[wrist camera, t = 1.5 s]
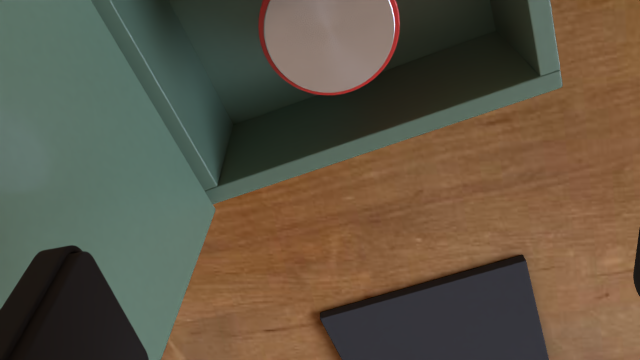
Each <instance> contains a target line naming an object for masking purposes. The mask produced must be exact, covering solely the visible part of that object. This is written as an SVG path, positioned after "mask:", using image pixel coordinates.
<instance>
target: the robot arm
mask: <svg viewBox="0 0 640 360" xmlns="http://www.w3.org/2000/svg"><path fill="white" fill-rule="evenodd" d="M633 278H634V284H635V287H636V290H637V292H638V294H639V296H640V229H639V237H638V244H637V252H636V259H635V266H634V275H633ZM0 360H149V358H148V354H147V352H146V350H145V348H144V346H143V345H142V343H141V341H140V339H139V337H138V336H137V334H136V332H135V330H134V329H133V327H132V325H131V323H130V322H129V320H128V318H127V316H126V314H125V313H124V311H123V309H122V307H121V306H120V304H119V302H118V300H117V298H116V297H115V295H114V293H113V291H112V290H111V288H110V286H109V284H108V283H107V281H106V279H105V277H104V275H103V274H102V272H101V270H100V268H99V267H98V265H97V263H96V261H95V260H94V258H93V256H92V255H91V254H90V253H89V252H86V251H82V250H81V249H80V248H79V247H77V246H74V245H70V246H64V247H59V248H53V249H48V250H43V251H40V252H38V253H37V254H36V256H35V257H34V258H33V260H32V261H31V263H30V264H29V266H28V268H27V269H26V271H25V272H24V274H23V275H22V277H21V278H20V280H19V281H18V283H17V285H16V286H15V288H14V289H13V291H12V292H11V294H10V295H9V297H8V299H7V300H6V302H5V303H4V305H3V306H2V308H1V309H0Z"/></svg>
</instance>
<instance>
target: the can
mask: <svg viewBox="0 0 640 360" xmlns="http://www.w3.org/2000/svg"><path fill="white" fill-rule="evenodd" d="M258 30H259V39H260V43H261V47H262V49H263V52H264V55H265V57H266V58H267V60H268V62H269V64H270V65H271V67H272V68H273V69H274V70H275V72H276V73H277V74H278V75H279V76H280V77H281V78H283V79H284V80H285V81H286V82H288V83H289V84H291V85H292V86H294V87H296V88H298V89H300V90H302V91H305V92H308V93H312V94H317V95H339V94H344V93H348V92H351V91H354V90H356V89H359V88H361V87H362V86H364V85H366V84H368V83H369V82H370V81H372V80H373V79H374V78H375V77H377V76H378V75H379V74H380V73H381V72H382V70H383V69H384V68H385V67H386V65H387V64H388V62H389V61H390V59H391V57H392V55H393V53H394V51H395V49H396V45H397V42H398V38H399V32H400V16H399V10H398V5H397V2H396V0H263V1H262V5H261V8H260V13H259V22H258Z"/></svg>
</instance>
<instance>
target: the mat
mask: <svg viewBox="0 0 640 360" xmlns="http://www.w3.org/2000/svg"><path fill="white" fill-rule="evenodd" d="M320 320H321V322H322V323H323V325H324V327H325V329H326V331H327V333H328V335H329V336H330V338H331V340H332V342H333V344H334V346H335V347H336V349H337V351H338V353H339V355H340V357H341V359H342V360H549V359H548V354H547V350H546V346H545V341H544V337H543V333H542V328H541V324H540V320H539V315H538V311H537V307H536V302H535V298H534V294H533V289H532V285H531V281H530V276H529V272H528V268H527V263H526V260H525V258H524V256H523V255H521V256H517V257H514V258H510V259H507V260H503V261H500V262H496V263H493V264H489V265H486V266H482V267H479V268H475V269H472V270H468V271H465V272H461V273H458V274H454V275H451V276H447V277H444V278H440V279H437V280H433V281H430V282H426V283H423V284H419V285H416V286H412V287H409V288H405V289H402V290H398V291H395V292H391V293H388V294H384V295H381V296H377V297H374V298H370V299H367V300H363V301H360V302H356V303H353V304H349V305H346V306H342V307H339V308H335V309H332V310H328V311H325V312H321V313H320Z"/></svg>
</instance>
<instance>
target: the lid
mask: <svg viewBox="0 0 640 360" xmlns="http://www.w3.org/2000/svg"><path fill="white" fill-rule="evenodd" d="M214 213H215V208H214V206H213V204H212V203H211V201H210V199H209V198H208V196H207V194H206V193H205V191H204V189H203V188H202V186H201V184H200V183H199V181H198V179H197V178H196V176H195V174H194V173H193V171H192V169H191V168H190V166H189V164H188V163H187V161H186V159H185V157H184V156H183V154H182V152H181V151H180V149H179V147H178V146H177V144H176V142H175V141H174V139H173V137H172V136H171V134H170V132H169V131H168V129H167V127H166V126H165V124H164V122H163V121H162V119H161V117H160V116H159V114H158V112H157V110H156V109H155V107H154V105H153V104H152V102H151V100H150V99H149V97H148V95H147V94H146V92H145V90H144V89H143V87H142V85H141V84H140V82H139V80H138V79H137V77H136V75H135V74H134V72H133V70H132V69H131V67H130V65H129V63H128V62H127V60H126V58H125V57H124V55H123V53H122V52H121V50H120V48H119V47H118V45H117V43H116V42H115V40H114V38H113V37H112V35H111V33H110V32H109V30H108V28H107V27H106V25H105V23H104V22H103V20H102V18H101V16H100V15H99V13H98V11H97V10H96V8H95V6H94V5H93V3H92V1H91V0H0V309H1V308H2V306H3V305H4V303H5V302H6V300H7V299H8V297H9V295H10V294H11V292H12V291H13V289H14V288H15V286H16V285H17V283H18V281H19V280H20V278H21V277H22V275H23V274H24V272H25V271H26V269H27V268H28V266H29V264H30V263H31V261H32V260H33V258H34V257H35V256H36V254H37V253H38V252H40V251H43V250H48V249H53V248H59V247H64V246H70V245H74V246H77V247H79V248H80V249H81V250H82V251H86V252H89V253H90V254H91V255H92V256H93V258H94V260H95V261H96V263H97V265H98V267H99V268H100V270H101V272H102V274H103V275H104V277H105V279H106V281H107V283H108V284H109V286H110V288H111V290H112V291H113V293H114V295H115V297H116V298H117V300H118V302H119V304H120V306H121V307H122V309H123V311H124V313H125V314H126V316H127V318H128V320H129V322H130V323H131V325H132V327H133V329H134V330H135V332H136V334H137V336H138V337H139V339H140V341H141V343H142V345H143V346H144V348H145V350H146V352H147V354H148V358H149V360H161V358H162V355H163V352H164V350H165V347H166V344H167V341H168V339H169V336H170V333H171V331H172V328H173V325H174V322H175V320H176V317H177V314H178V311H179V309H180V306H181V303H182V300H183V298H184V295H185V292H186V289H187V287H188V284H189V281H190V278H191V276H192V273H193V270H194V267H195V265H196V262H197V259H198V256H199V254H200V251H201V248H202V246H203V243H204V240H205V237H206V235H207V232H208V229H209V226H210V224H211V221H212V218H213V215H214Z"/></svg>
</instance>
